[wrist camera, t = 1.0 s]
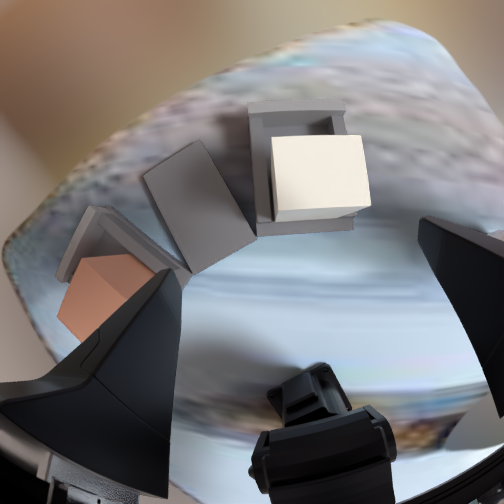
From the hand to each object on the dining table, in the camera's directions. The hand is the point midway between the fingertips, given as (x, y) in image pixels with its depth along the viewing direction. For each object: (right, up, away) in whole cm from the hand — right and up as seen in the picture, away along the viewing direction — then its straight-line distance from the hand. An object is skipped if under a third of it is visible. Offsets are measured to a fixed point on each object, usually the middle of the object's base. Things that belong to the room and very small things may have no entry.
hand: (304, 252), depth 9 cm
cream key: (+2, +4, +13) cm, 14 cm away
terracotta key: (-12, -3, +14) cm, 18 cm away
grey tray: (-6, +3, +15) cm, 16 cm away
